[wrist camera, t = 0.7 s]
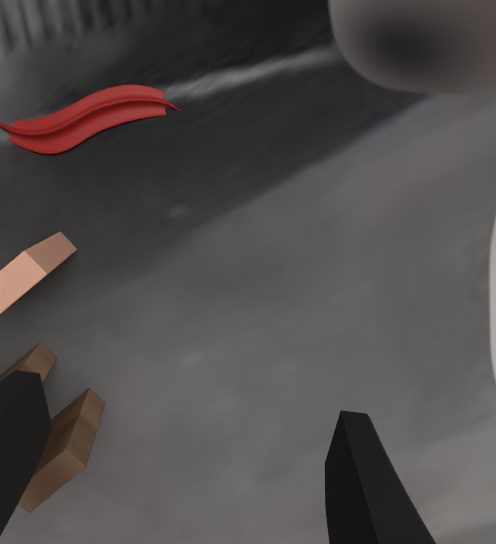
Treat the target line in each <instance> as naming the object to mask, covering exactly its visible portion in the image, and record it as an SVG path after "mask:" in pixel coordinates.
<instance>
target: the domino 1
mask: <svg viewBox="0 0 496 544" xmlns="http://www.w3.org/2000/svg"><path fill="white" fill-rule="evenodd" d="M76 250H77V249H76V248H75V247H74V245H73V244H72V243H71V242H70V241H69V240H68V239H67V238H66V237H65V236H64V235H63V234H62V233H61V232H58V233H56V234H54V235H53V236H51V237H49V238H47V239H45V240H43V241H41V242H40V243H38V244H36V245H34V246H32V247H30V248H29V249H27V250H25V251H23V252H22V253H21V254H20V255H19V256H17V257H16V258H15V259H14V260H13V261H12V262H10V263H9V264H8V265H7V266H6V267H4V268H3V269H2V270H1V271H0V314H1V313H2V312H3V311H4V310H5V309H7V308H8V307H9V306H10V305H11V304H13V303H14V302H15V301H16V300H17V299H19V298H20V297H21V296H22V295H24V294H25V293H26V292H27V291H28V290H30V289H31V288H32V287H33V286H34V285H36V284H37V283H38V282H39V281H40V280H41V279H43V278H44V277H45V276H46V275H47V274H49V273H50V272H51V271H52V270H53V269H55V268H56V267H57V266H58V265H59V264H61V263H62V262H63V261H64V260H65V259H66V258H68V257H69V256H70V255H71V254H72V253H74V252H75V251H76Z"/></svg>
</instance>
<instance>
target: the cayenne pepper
mask: <svg viewBox="0 0 496 544" xmlns="http://www.w3.org/2000/svg"><path fill="white" fill-rule="evenodd" d="M167 107H169V108H174V109H177V110H179V109H178V108H176V107H175V106H173V105H172V104H170V103H169V102H167V101H166V100H164V98H163V92H162V91H160V90H157V89H155V88H151V87H147V86H142V85H120V86H115V87H111V88H107V89H104V90H101V91H98V92H95V93H93V94H91V95H88V96H87V97H85V98H83V99H81V100H79V101H77V102H75V103H74V104H72V105H70V106H68V107H66V108H64V109H62V110H60V111H58V112H55V113H53V114H51V115H48V116H45V117H42V118H39V119H34V120H15V126H9V125H6V124H3V123H0V126H1V127H2V128H4V129H5V130H6V131H8V132H9V133H10V134H11V137H10V138H9V140H10V141H11V142H13V143H14V144H16V145H18V146H20V147H22V148H25V149H27V150H30V151H34V152H38V153H43V154H56V153H60V152H64V151H66V150H69V149H71V148H73V147H75V146H76V145H78V144H80V143H81V142H83V141H84V140H86V139H87V138H89V137H91V136H92V135H94V134H96V133H98V132H100V131H102V130H105V129H107V128H110V127H113V126H116V125H119V124H122V123H125V122H128V121H133V120H137V119H143V118H148V117H154V116H161V115H166V113H165V108H167ZM179 111H180V112H182V111H181V110H179Z"/></svg>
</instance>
